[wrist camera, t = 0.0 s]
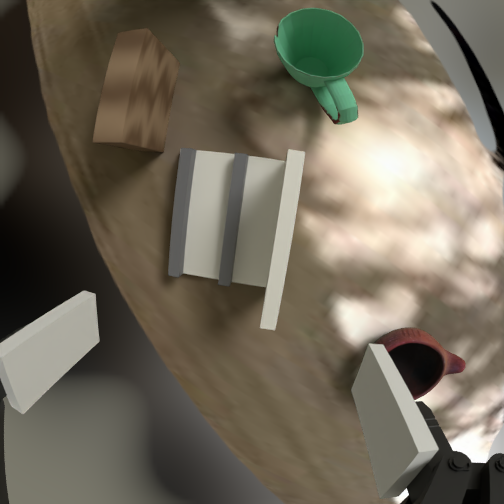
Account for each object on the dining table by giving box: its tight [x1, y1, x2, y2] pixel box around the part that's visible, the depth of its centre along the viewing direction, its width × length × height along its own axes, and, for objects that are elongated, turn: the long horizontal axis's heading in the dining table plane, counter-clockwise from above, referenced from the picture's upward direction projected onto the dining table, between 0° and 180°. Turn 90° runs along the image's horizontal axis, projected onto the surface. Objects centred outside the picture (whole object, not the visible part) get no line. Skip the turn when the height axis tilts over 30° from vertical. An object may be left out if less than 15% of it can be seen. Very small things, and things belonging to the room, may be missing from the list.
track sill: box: [168, 148, 305, 330], centre depth 33 cm, size 17×16×13 cm
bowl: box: [374, 328, 465, 400], centre depth 38 cm, size 16×13×8 cm
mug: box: [274, 8, 364, 124], centre depth 29 cm, size 15×10×10 cm
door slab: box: [93, 28, 180, 152], centre depth 31 cm, size 14×4×12 cm, turn 172°
